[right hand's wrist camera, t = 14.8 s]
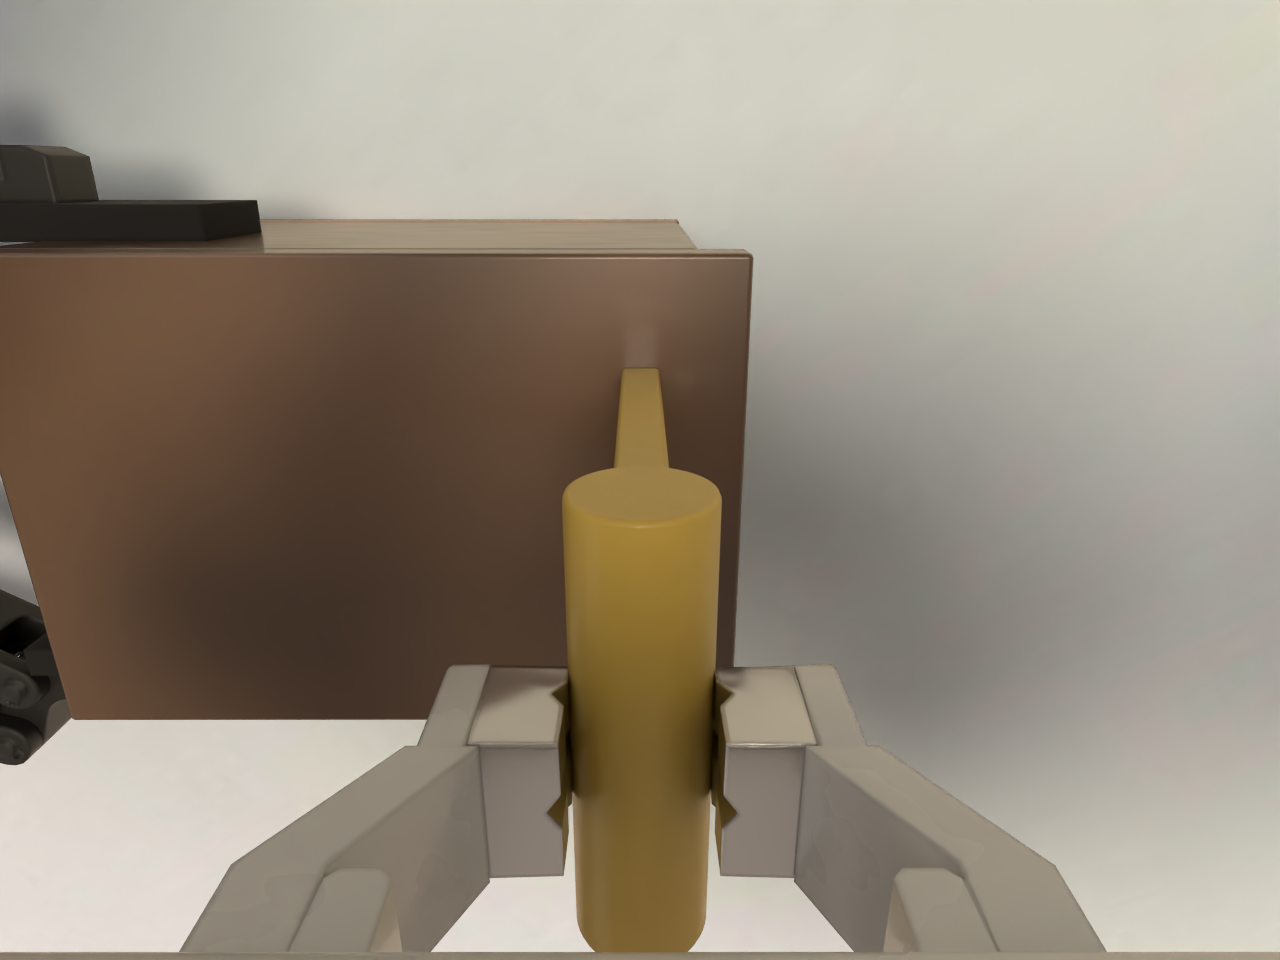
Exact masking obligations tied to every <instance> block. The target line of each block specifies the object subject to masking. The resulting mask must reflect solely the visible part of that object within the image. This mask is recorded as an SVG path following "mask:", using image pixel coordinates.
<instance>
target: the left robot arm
mask: <svg viewBox="0 0 1280 960" xmlns="http://www.w3.org/2000/svg"><path fill="white" fill-rule="evenodd" d="M260 232H262V230H261V224H260V218H259V211H258V205H257V200H99V199H98V194H97V190H96V185H95V180H94V176H93V171H92V167H91V162H90V158H89V156H87V155H84V154H81V153H79V152H76V151H74V150H71V149H69V148H66V147H52V146H28V145H0V242H40V241H210V240H216V239H222V238H229V237H235V236H241V235H247V234H254V233H260ZM19 655H20V656H19ZM17 656H19V657H17ZM71 718H72V717H71V714H70V710H69V707H68V704H67V700H66V697H65V693H64V690H63V686H62V683H61V680H60V676H59V673H58V669H57V666H56V662H55V659H54V656H53V652H52V649H51V645H50V642H49V638H48V635H47V632H46V628H45V625H44V621H43V618H42V615H41V611H40V608H39V607H38V606H36V605H34V604H32V603H29V602H27V601H25V600H23V599H20V598H18V597H16V596H14V595H11V594H9V593H7V592H5V591H2V590H0V763H2V764H7V765H18V764H22V763H24V762H25V761H26V760H27V759H29V758H30V757H31V756H32V755H33V754H34V753H35V752H36V751H37V750H38V749H39V748H40V747H41V746H42V745H44V744H45V743H46V742H47V741H48V740H49V739H50V738H51V737H52V736H53V735H54V734H55V733H56V732H57V731H58V730H59V729H60V728H61V727H62V726H63V725H64V724H65V723H66V722H67V721H69V720H70V719H71Z"/></svg>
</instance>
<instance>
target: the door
mask: <svg viewBox="0 0 1280 960" xmlns="http://www.w3.org/2000/svg"><path fill="white" fill-rule="evenodd" d="M752 274H753V256H752V254H750V253H749V252H748V251H746V250H744V249H0V474H1V478H2V481H3V484H4V488H5V491H6V495H7V498H8V501H9V505H10V508H11V512H12V515H13V519H14V522H15V525H16V529H17V532H18V536H19V539H20V543H21V546H22V549H23V553H24V556H25V560H26V563H27V567H28V570H29V573H30V577H31V580H32V584H33V587H34V591H35V594H36V597H37V601H38V604H39V608H40V611H41V615H42V618H43V621H44V625H45V628H46V632H47V635H48V638H49V642H50V645H51V649H52V652H53V656H54V659H55V662H56V666H57V669H58V673H59V676H60V680H61V683H62V686H63V690H64V693H65V697H66V700H67V704H68V707H69V710H70V714H71V717H72V718H73V719H75V720H427V719H428V717H429V714H430V711H431V709H432V706H433V704H434V701H435V699H436V696H437V694H438V691H439V689H440V686H441V683H442V681H443V678H444V676H445V673H446V671H447V669H448V668H449V667H451V666H452V665H483V664H489V665H491V666H493V665H526V666H568V671H569V692H570V718H571V720H570V740H571V749H572V778H573V795H572V796H573V824H574V852H575V881H576V909H577V921H578V925H579V928H580V931H581V933H582V935H583V937H584V939H585V940H586V942H587V943H588V944H589V946H590V947H591V948H592V949H593V950H594V951H595V952H688V951H689V950H690V949H691V948H692V947H693V945H694V944H695V943H696V941H697V940H698V938H699V937H700V935H701V933H702V931H703V927H704V924H705V919H706V900H707V874H708V847H709V821H710V795H711V790H710V786H711V757H712V743H713V703H714V680H715V668H720V667H734V653H735V632H736V611H737V590H738V568H739V547H740V526H741V505H742V484H743V463H744V442H745V421H746V400H747V379H748V358H749V337H750V316H751V295H752Z"/></svg>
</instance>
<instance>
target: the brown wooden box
mask: <svg viewBox="0 0 1280 960" xmlns="http://www.w3.org/2000/svg"><path fill="white" fill-rule="evenodd" d="M260 224H261V230H262V232H260V233H254V234H247V235H241V236H235V237H229V238H222V239H216V240H210V241H40V242H31V243H22V244H14V245H5V246H0V249H697V248H696V247H695V245H694V244H693V243H692V241H691V240H690V239H689V237H688V236H687V235H686V233H685V232H684V231H683V229H682V228H681V227H680V225H679V222H678V221H677V220H260Z"/></svg>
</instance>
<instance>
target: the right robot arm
mask: <svg viewBox="0 0 1280 960" xmlns="http://www.w3.org/2000/svg"><path fill="white" fill-rule="evenodd" d="M570 720H571V718H570V692H569V671H568V666H526V665H493V666H491V665H489V664H483V665H452V666H451V667H449V668H448V669H447V671H446V673H445V676H444V678H443V681H442V683H441V686H440V689H439V691H438V694H437V696H436V699H435V701H434V704H433V706H432V709H431V711H430V714H429V717H428V719H427V722H426V724H425V727H424V729H423V732H422V734H421V737H420V740H419V742H418V745H417V746H405V747H403V748H402V749H400V750H399V751H397V752H396V753H394V754H393V755H391V756H390V757H388V758H387V759H385V760H384V761H382V762H381V763H380V764H378V765H377V766H375V767H374V768H372V769H371V770H369V771H368V772H366V773H365V774H363V775H362V776H360V777H359V778H357V779H356V780H355V781H353V782H352V783H350V784H349V785H347V786H346V787H344V788H343V789H341V790H340V791H338V792H337V793H335V794H334V795H332V796H331V797H330V798H328V799H327V800H325V801H324V802H322V803H321V804H319V805H318V806H316V807H315V808H313V809H312V810H310V811H309V812H308V813H306V814H305V815H303V816H302V817H300V818H299V819H297V820H296V821H294V822H293V823H291V824H290V825H288V826H287V827H285V828H284V829H283V830H281V831H280V832H278V833H277V834H275V835H274V836H272V837H271V838H269V839H268V840H266V841H265V842H263V843H262V844H260V845H259V846H258V847H256V848H255V849H253V850H252V851H250V852H249V853H247V854H246V855H244V856H243V857H241V858H240V859H238V860H237V861H235V862H234V863H233V864H231V866H230V867H229V869H228V871H227V872H226V874H225V876H224V877H223V879H222V881H221V882H220V884H219V886H218V887H217V889H216V891H215V892H214V894H213V896H212V897H211V899H210V901H209V903H208V904H207V906H206V908H205V909H204V911H203V913H202V914H201V916H200V918H199V919H198V921H197V923H196V924H195V926H194V928H193V929H192V931H191V933H190V934H189V936H188V938H187V939H186V941H185V943H184V944H183V946H182V948H181V949H180V951H179V952H0V960H1280V952H1107V951H1106V950H1105V948H1104V946H1103V945H1102V943H1101V941H1100V940H1099V938H1098V936H1097V934H1096V933H1095V931H1094V929H1093V928H1092V926H1091V924H1090V923H1089V921H1088V919H1087V918H1086V916H1085V914H1084V913H1083V911H1082V909H1081V908H1080V906H1079V904H1078V903H1077V901H1076V899H1075V898H1074V896H1073V894H1072V893H1071V891H1070V889H1069V888H1068V886H1067V884H1066V883H1065V881H1064V879H1063V878H1062V876H1061V874H1060V873H1059V871H1058V869H1057V868H1056V866H1055V865H1054V864H1052V863H1051V862H1049V861H1048V860H1046V859H1045V858H1043V857H1042V856H1040V855H1039V854H1037V853H1036V852H1034V851H1033V850H1031V849H1030V848H1029V847H1027V846H1026V845H1024V844H1023V843H1021V842H1020V841H1018V840H1017V839H1015V838H1014V837H1012V836H1011V835H1009V834H1008V833H1006V832H1005V831H1004V830H1002V829H1001V828H999V827H998V826H996V825H995V824H993V823H992V822H990V821H989V820H987V819H986V818H984V817H983V816H981V815H980V814H978V813H977V812H976V811H974V810H973V809H971V808H970V807H968V806H967V805H965V804H964V803H962V802H961V801H959V800H958V799H956V798H955V797H953V796H952V795H951V794H949V793H948V792H946V791H945V790H943V789H942V788H940V787H939V786H937V785H936V784H934V783H933V782H931V781H930V780H928V779H927V778H925V777H924V776H923V775H921V774H920V773H918V772H917V771H915V770H914V769H912V768H911V767H909V766H908V765H906V764H905V763H903V762H902V761H900V760H899V759H897V758H896V757H895V756H893V755H892V754H890V753H889V752H887V751H886V750H884V749H883V748H881V747H880V746H867V744H866V742H865V739H864V737H863V734H862V732H861V729H860V727H859V724H858V722H857V719H856V717H855V714H854V712H853V709H852V707H851V705H850V702H849V700H848V697H847V695H846V692H845V690H844V687H843V685H842V682H841V680H840V677H839V675H838V672H837V670H836V668H835V667H834V666H832V665H831V664H817V665H792V666H764V667H720V668H715V680H714V703H713V743H712V757H711V786H710V790H711V800H712V804H713V805H714V806H715V807H716V817H715V835H716V843H717V851H718V859H719V867H720V875H721V876H742V877H777V878H794V882H795V883H796V884H797V885H798V887H799V888H800V889H801V890H802V891H803V892H804V894H805V895H806V896H807V897H808V898H809V899H810V901H811V902H812V903H813V904H814V905H815V906H816V908H817V909H818V910H819V911H820V912H821V913H822V915H823V916H824V917H825V918H826V919H827V920H828V922H829V923H830V924H831V925H832V926H833V927H834V929H835V930H836V931H837V932H838V933H839V935H840V936H841V937H842V938H843V939H844V940H845V942H846V943H847V944H848V945H849V946H850V947H851V949H852V950H853V951H854V952H431V951H432V949H433V948H434V947H435V946H436V945H437V944H438V942H439V941H440V940H441V939H442V938H443V937H444V935H445V934H446V933H447V932H448V931H449V929H450V928H451V927H452V926H453V925H454V924H455V922H456V921H457V920H458V919H459V918H460V917H461V915H462V914H463V913H464V912H465V911H466V910H467V908H468V907H469V906H470V905H471V904H472V903H473V901H474V900H475V899H476V898H477V897H478V895H479V894H480V893H481V892H482V891H483V890H484V888H485V887H486V886H487V885H488V884H489V883H490V879H489V878H506V877H540V876H564V867H565V859H566V850H567V842H568V833H569V825H568V807H569V806H570V805H571V804H572V795H573V778H572V749H571V740H570Z"/></svg>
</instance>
